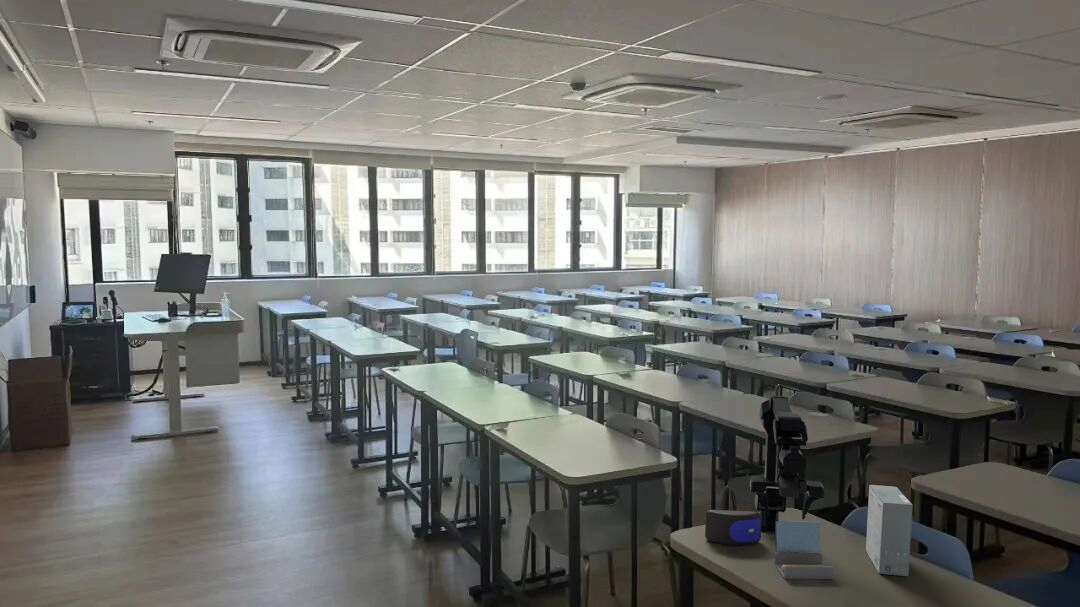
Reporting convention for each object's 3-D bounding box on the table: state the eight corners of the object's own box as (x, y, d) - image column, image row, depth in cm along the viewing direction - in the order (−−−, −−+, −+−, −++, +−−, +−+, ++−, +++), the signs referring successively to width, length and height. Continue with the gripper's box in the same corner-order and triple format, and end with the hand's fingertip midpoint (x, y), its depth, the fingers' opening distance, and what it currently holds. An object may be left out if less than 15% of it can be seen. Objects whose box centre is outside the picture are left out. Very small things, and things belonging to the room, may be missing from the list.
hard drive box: (909, 577, 190) (913, 505, 189) (878, 574, 192) (882, 503, 190) (893, 552, 206) (896, 485, 204) (864, 550, 207) (867, 483, 205)
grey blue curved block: (706, 545, 210) (707, 514, 209) (704, 538, 214) (705, 508, 214) (763, 547, 208) (764, 516, 208) (759, 541, 213) (760, 510, 212)
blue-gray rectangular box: (776, 552, 197) (775, 551, 197) (820, 552, 197) (819, 551, 197) (776, 521, 197) (775, 521, 198) (819, 522, 197) (818, 521, 198)
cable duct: (774, 564, 197) (774, 552, 197) (821, 565, 197) (821, 552, 197) (784, 579, 189) (785, 566, 188) (833, 579, 189) (834, 567, 188)
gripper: (753, 468, 187) (751, 525, 188) (828, 474, 183) (826, 532, 184) (750, 455, 198) (749, 509, 199) (822, 460, 193) (819, 516, 195)
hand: (785, 517), depth 194 cm, fingers open, 9 cm apart
